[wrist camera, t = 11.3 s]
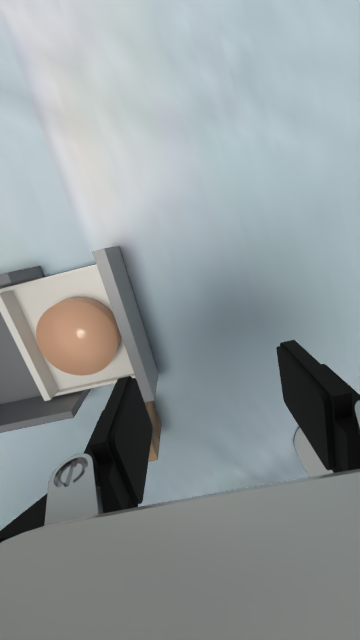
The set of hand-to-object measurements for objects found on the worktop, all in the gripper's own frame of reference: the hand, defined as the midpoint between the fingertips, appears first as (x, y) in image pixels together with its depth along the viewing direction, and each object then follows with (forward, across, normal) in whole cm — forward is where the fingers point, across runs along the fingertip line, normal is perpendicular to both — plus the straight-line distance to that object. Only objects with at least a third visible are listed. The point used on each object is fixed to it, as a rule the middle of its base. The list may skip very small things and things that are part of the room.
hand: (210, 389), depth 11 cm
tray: (+16, +13, 0) cm, 20 cm away
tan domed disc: (+14, +12, 0) cm, 18 cm away
